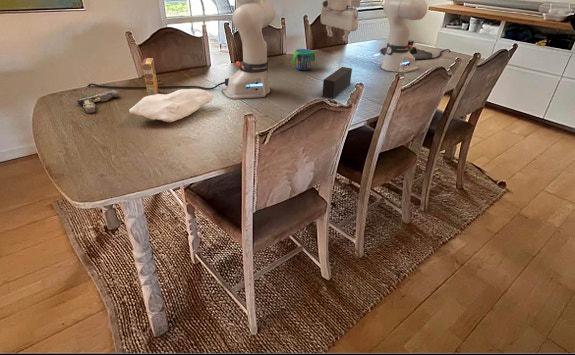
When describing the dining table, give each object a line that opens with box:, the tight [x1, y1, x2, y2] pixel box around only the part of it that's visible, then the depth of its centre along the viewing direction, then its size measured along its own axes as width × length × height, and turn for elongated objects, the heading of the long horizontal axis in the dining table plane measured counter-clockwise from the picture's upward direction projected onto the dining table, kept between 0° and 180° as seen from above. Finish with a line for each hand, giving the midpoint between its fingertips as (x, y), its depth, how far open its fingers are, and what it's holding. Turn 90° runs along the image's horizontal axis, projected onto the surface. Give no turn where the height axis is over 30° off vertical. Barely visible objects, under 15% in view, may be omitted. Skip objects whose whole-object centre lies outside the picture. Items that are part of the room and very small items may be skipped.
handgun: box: [76, 89, 120, 114], centre depth 155 cm, size 3×18×15 cm
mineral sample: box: [380, 39, 433, 59], centre depth 249 cm, size 35×35×9 cm
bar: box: [321, 66, 353, 100], centre depth 180 cm, size 26×6×8 cm, turn 153°
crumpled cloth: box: [129, 88, 214, 123], centre depth 147 cm, size 24×35×9 cm
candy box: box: [141, 57, 160, 96], centre depth 163 cm, size 9×4×15 cm, turn 13°
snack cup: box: [291, 48, 316, 71], centre depth 207 cm, size 16×10×10 cm
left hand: (337, 38), depth 161 cm, fingers open, 8 cm apart
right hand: (339, 16), depth 191 cm, fingers open, 8 cm apart
